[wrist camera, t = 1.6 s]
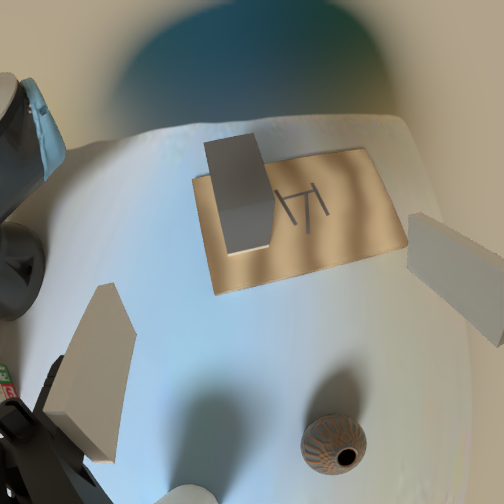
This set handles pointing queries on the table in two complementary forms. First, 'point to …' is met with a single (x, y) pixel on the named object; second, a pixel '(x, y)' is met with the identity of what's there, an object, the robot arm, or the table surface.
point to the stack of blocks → (6, 385)
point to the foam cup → (188, 496)
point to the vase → (333, 444)
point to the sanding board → (306, 221)
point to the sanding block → (241, 193)
